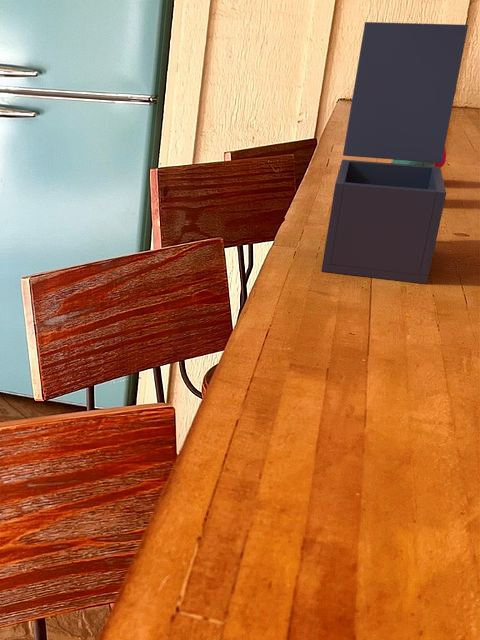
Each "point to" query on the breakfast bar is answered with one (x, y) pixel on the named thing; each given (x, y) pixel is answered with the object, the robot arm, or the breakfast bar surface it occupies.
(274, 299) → the breakfast bar surface
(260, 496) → the breakfast bar surface
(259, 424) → the breakfast bar surface
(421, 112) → the chest lid
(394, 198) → the chest
